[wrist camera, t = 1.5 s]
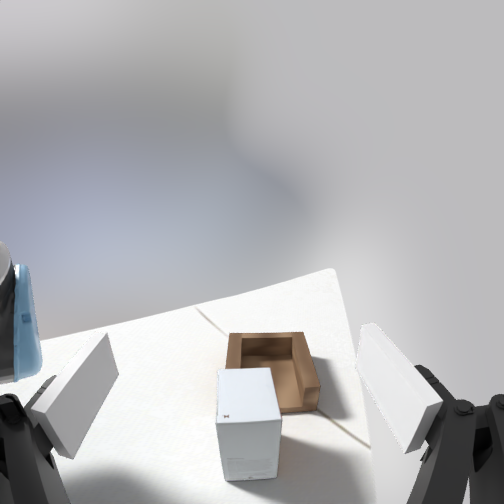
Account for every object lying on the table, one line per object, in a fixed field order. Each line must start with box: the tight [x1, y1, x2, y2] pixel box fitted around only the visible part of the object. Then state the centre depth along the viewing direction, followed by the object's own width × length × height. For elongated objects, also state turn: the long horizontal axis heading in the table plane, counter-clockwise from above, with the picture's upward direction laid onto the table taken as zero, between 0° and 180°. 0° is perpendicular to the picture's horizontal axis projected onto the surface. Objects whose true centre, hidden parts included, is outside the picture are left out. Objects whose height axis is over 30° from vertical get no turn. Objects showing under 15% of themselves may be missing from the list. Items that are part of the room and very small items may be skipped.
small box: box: [215, 368, 282, 481], centre depth 26 cm, size 8×6×10 cm
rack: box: [225, 332, 321, 413], centre depth 40 cm, size 12×14×4 cm
